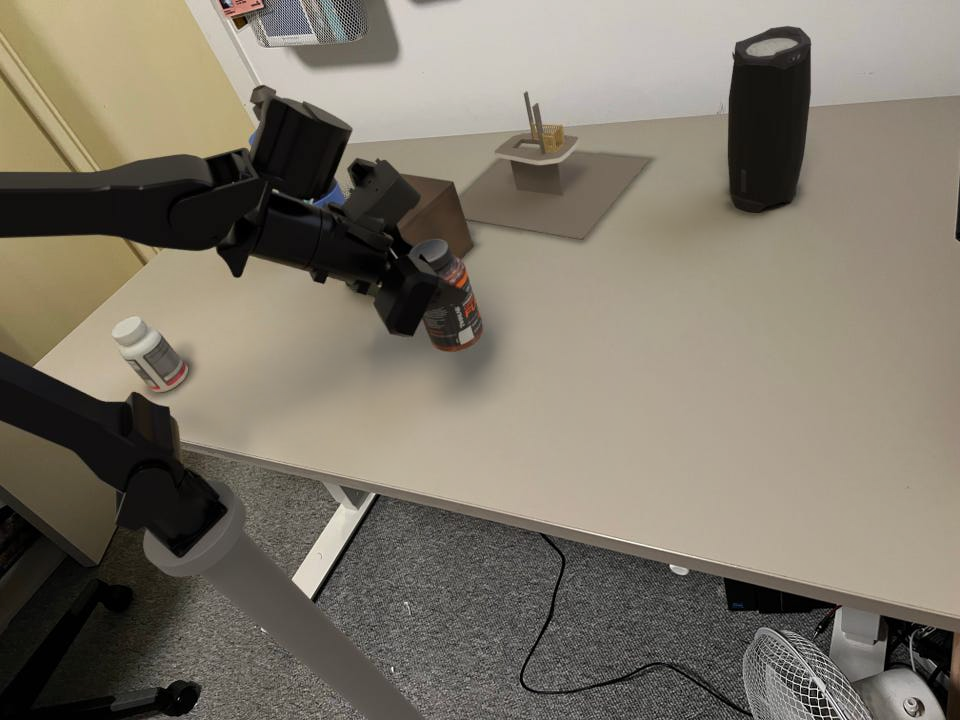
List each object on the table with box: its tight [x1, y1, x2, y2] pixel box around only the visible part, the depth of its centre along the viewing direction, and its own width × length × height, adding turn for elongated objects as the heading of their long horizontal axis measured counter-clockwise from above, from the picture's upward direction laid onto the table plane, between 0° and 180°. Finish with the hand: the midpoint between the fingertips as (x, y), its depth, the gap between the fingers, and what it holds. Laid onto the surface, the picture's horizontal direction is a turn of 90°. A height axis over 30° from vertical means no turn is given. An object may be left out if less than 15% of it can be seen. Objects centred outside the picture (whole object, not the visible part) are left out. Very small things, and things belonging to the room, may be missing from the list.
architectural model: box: [459, 91, 649, 240], centre depth 93 cm, size 21×25×14 cm
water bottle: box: [248, 84, 347, 208], centre depth 94 cm, size 9×9×25 cm
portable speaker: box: [727, 25, 812, 213], centre depth 75 cm, size 9×9×20 cm
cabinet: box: [397, 172, 474, 260], centre depth 87 cm, size 14×13×11 cm
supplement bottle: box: [409, 239, 484, 353], centre depth 65 cm, size 6×6×11 cm
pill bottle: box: [111, 315, 189, 393], centre depth 83 cm, size 5×5×10 cm
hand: (453, 282), depth 64 cm, fingers closed on supplement bottle, 6 cm apart
